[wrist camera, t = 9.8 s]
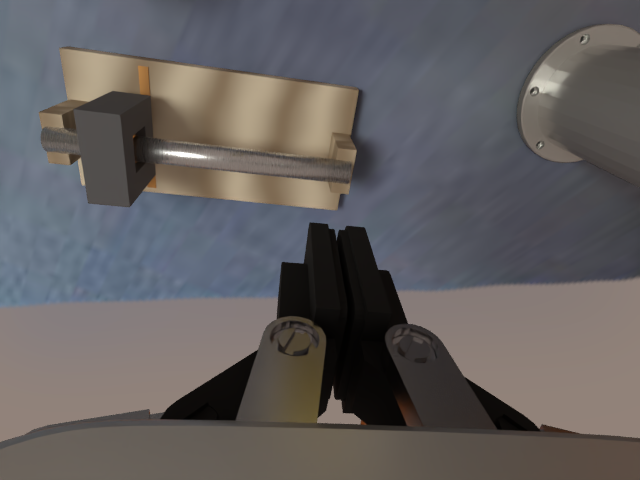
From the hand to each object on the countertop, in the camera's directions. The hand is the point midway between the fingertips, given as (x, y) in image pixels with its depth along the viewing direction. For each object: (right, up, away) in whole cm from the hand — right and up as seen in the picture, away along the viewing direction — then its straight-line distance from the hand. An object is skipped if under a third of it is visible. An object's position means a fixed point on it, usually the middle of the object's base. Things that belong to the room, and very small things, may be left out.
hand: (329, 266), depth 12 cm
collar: (-16, +10, +22) cm, 30 cm away
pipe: (-10, +8, +21) cm, 25 cm away
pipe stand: (-10, +11, +26) cm, 30 cm away
